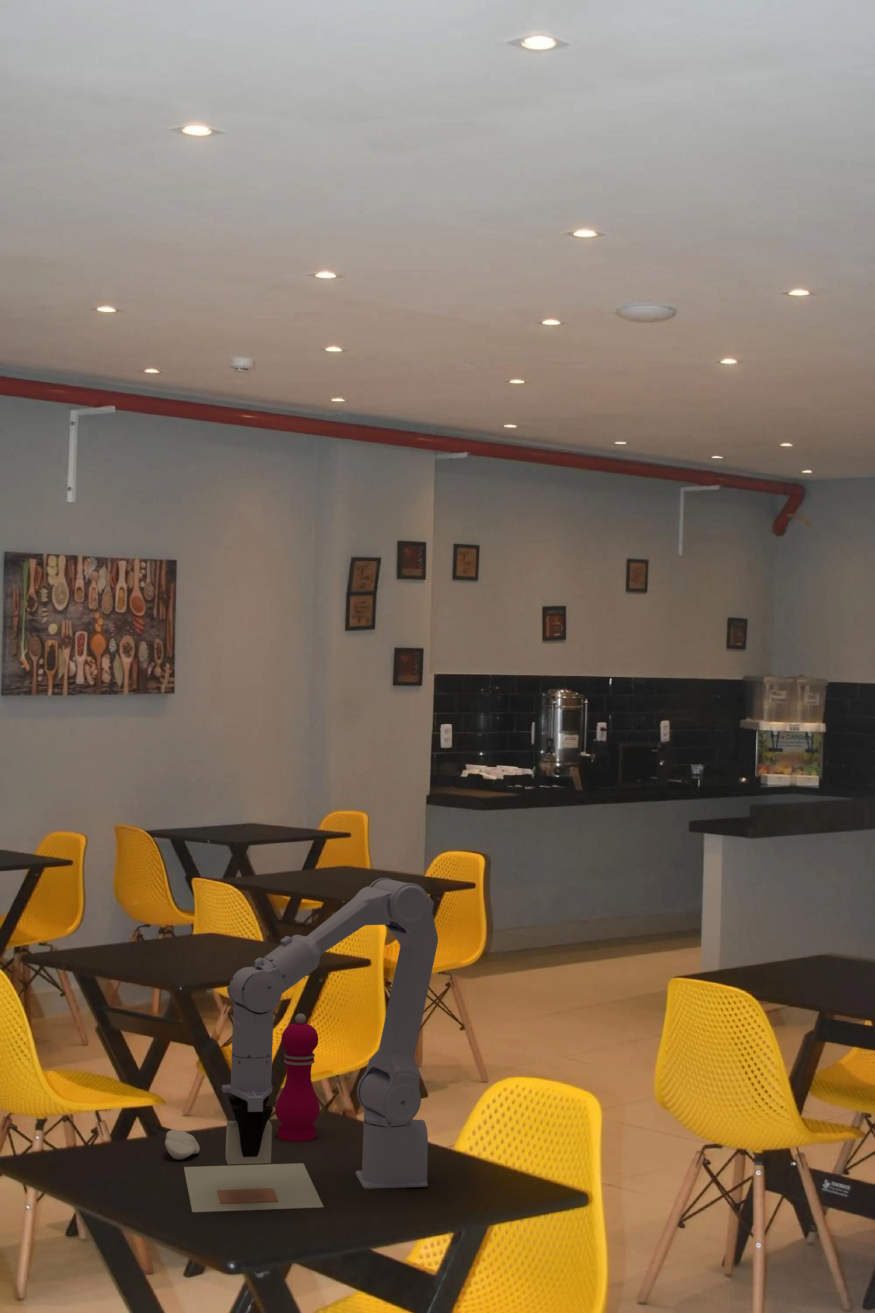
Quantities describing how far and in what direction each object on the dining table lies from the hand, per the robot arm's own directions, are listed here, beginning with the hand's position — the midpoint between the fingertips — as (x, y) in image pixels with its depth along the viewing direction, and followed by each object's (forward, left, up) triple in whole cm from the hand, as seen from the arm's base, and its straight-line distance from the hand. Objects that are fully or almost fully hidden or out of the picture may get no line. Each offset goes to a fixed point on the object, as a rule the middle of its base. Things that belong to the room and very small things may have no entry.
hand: (248, 1152), depth 217 cm
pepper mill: (-11, -32, -7) cm, 34 cm away
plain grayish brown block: (0, 0, -1) cm, 1 cm away
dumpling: (+8, -22, -7) cm, 24 cm away
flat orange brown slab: (0, 0, -6) cm, 6 cm away
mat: (-1, -5, -6) cm, 8 cm away
